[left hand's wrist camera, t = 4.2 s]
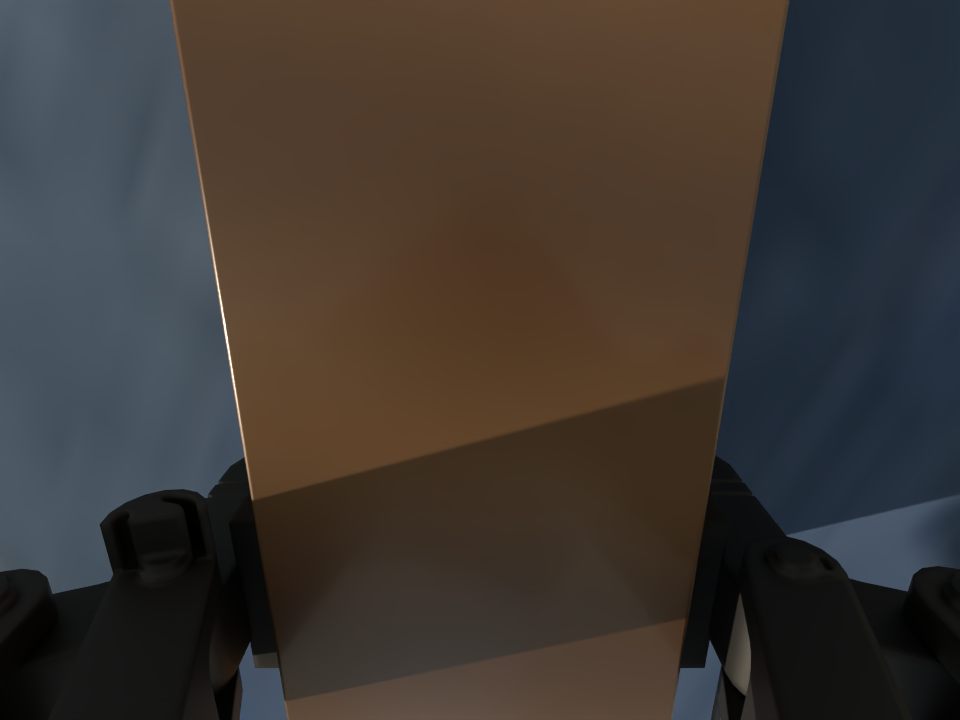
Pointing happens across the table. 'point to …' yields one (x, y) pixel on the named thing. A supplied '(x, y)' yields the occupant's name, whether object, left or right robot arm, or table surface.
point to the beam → (479, 331)
